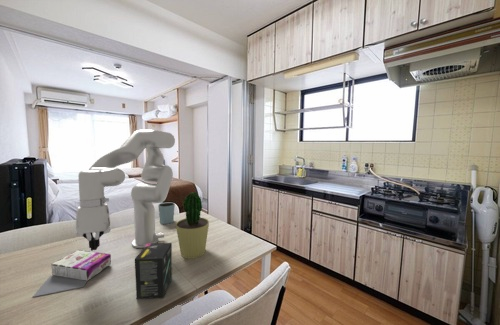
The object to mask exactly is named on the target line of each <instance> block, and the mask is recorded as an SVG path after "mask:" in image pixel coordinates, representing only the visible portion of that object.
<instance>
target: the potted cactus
mask: <svg viewBox="0 0 500 325" xmlns="http://www.w3.org/2000/svg"><path fill="white" fill-rule="evenodd" d="M202 197H203V196H202ZM202 197H201V196H200V195H199V194H198V191H196V192H195V191H194V192H193V191H192V192H190V193H188V194H187V195H186V196H185V198H184V200H181V201H182V205H183V206H182V208H183V212H184V213H185V214H184V213H183V214H184V215H185V218H183V219H180V220H178V221H177V222H176V223H175V226H176V227H175V228H176V233H177V239H178V245H179V252H180V255H181V257H183V258H184V259H197V258H199V257H200V258H201V256H203V255H204V254H205V253H206V247H207V240H208V239H207V238H208V232H209V226H210V220H209V219H208V218H205V217H201V212H202V211H204V209H203V205H202V203H203V201H202Z"/></svg>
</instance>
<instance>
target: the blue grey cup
mask: <svg viewBox="0 0 500 325" xmlns="http://www.w3.org/2000/svg"><path fill="white" fill-rule="evenodd" d="M175 205H176V204H175V203H174V202H169V201H168V202H161V203H158V205H157V206H158V213H159V214H158V215H159V223H160V224H161V225H169V224H172V223H174V215H175Z"/></svg>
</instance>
